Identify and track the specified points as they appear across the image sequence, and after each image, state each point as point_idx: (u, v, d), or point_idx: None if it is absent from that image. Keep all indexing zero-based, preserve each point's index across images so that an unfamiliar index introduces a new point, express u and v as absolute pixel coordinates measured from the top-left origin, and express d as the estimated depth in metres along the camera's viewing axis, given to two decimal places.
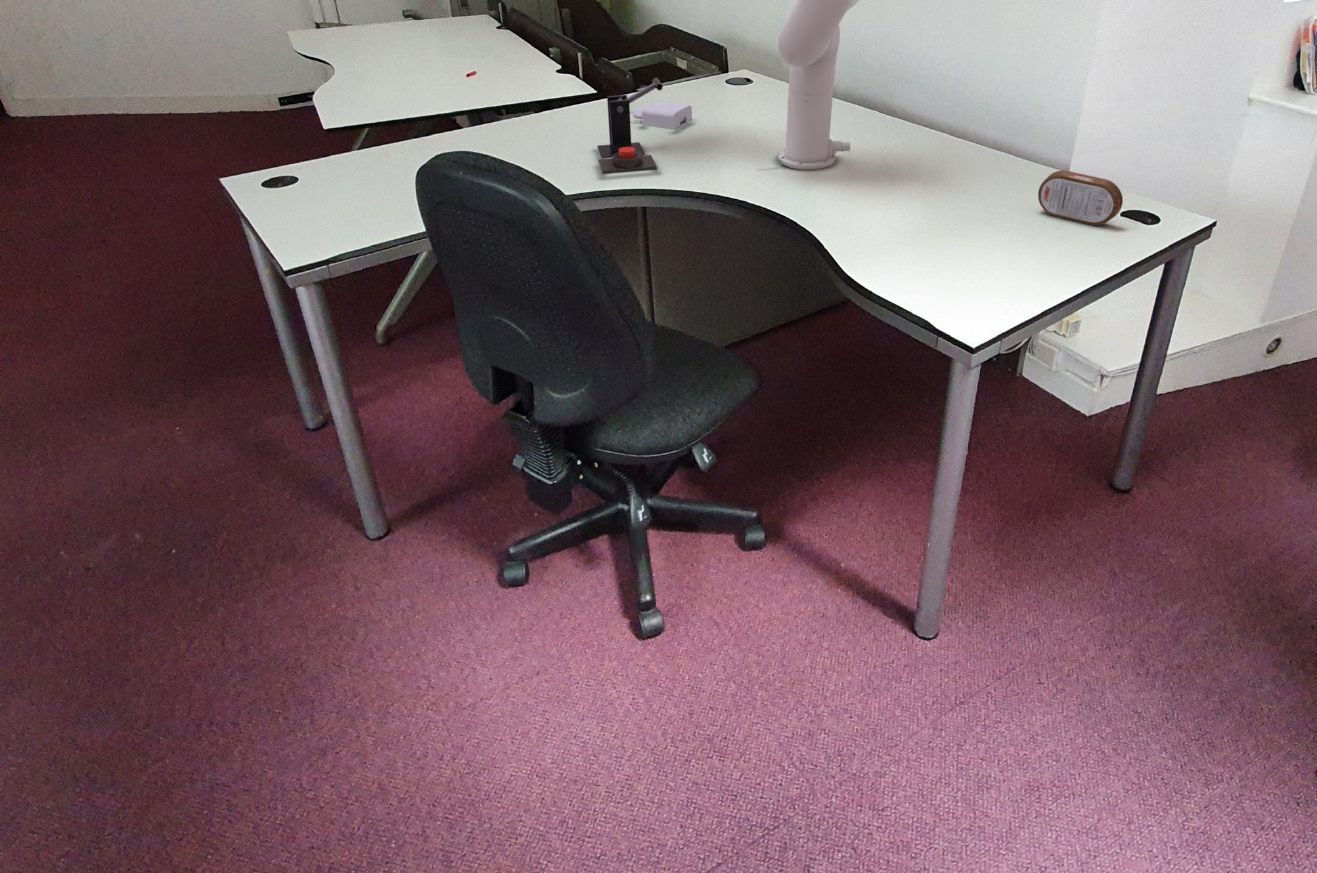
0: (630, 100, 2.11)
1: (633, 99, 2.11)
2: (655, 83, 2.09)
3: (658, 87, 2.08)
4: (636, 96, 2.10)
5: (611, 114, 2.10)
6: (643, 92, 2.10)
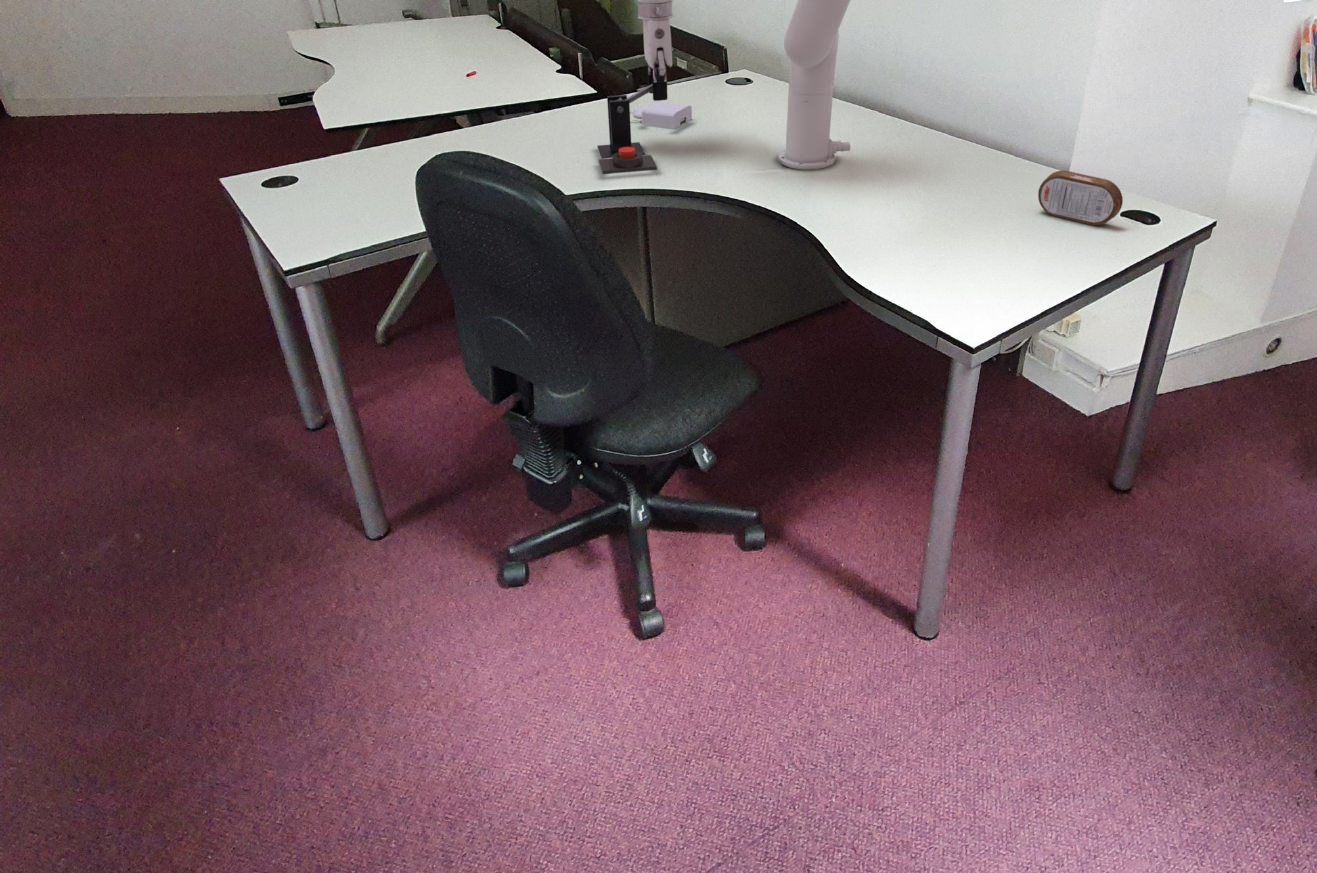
0: (630, 100, 2.11)
1: (633, 99, 2.11)
2: None
3: None
4: (636, 96, 2.10)
5: (611, 114, 2.10)
6: (643, 92, 2.10)
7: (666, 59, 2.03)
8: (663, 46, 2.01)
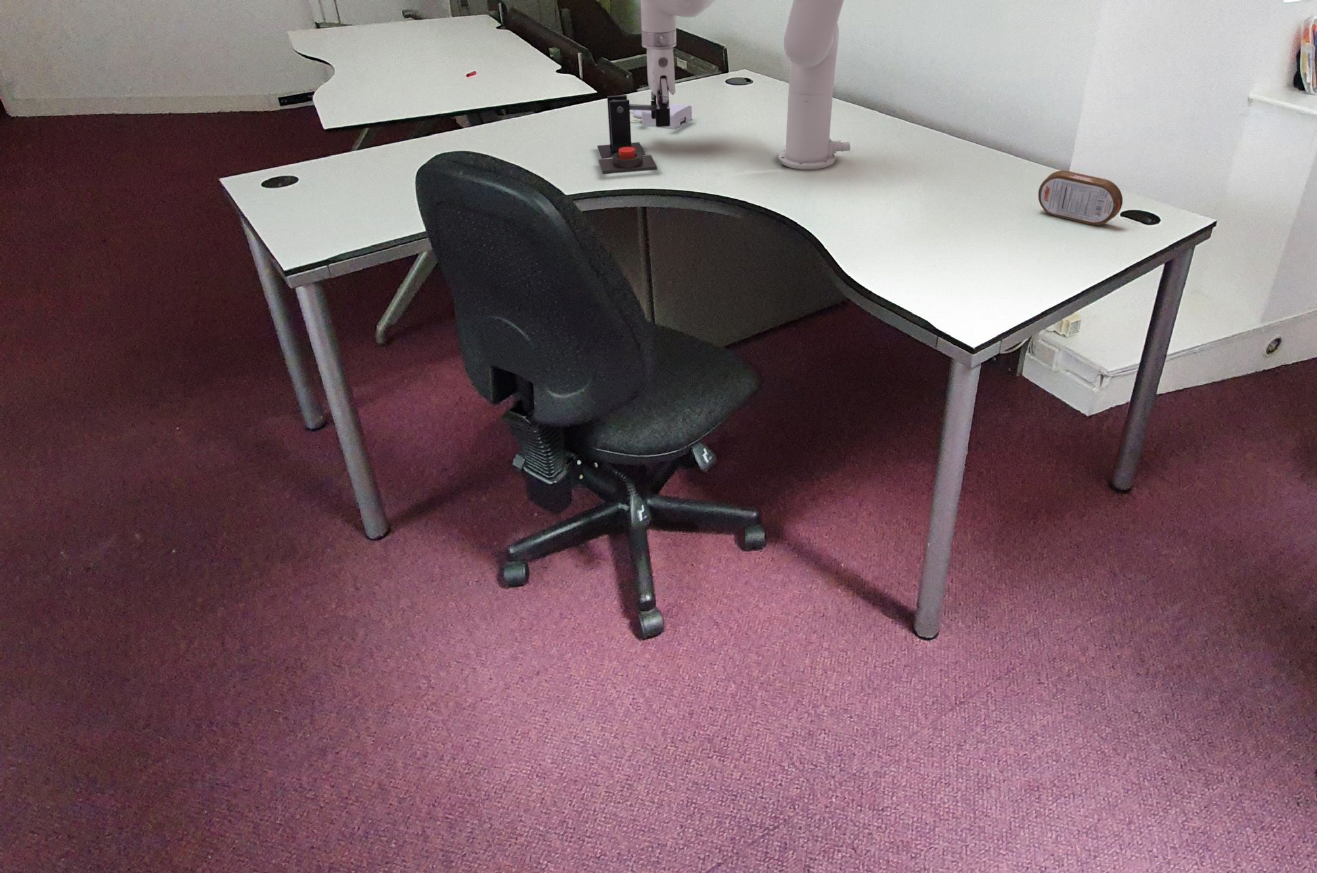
0: (631, 107, 2.12)
1: (634, 108, 2.12)
2: None
3: None
4: (638, 107, 2.12)
5: (611, 114, 2.10)
6: (646, 107, 2.12)
7: (669, 87, 2.06)
8: (666, 74, 2.04)
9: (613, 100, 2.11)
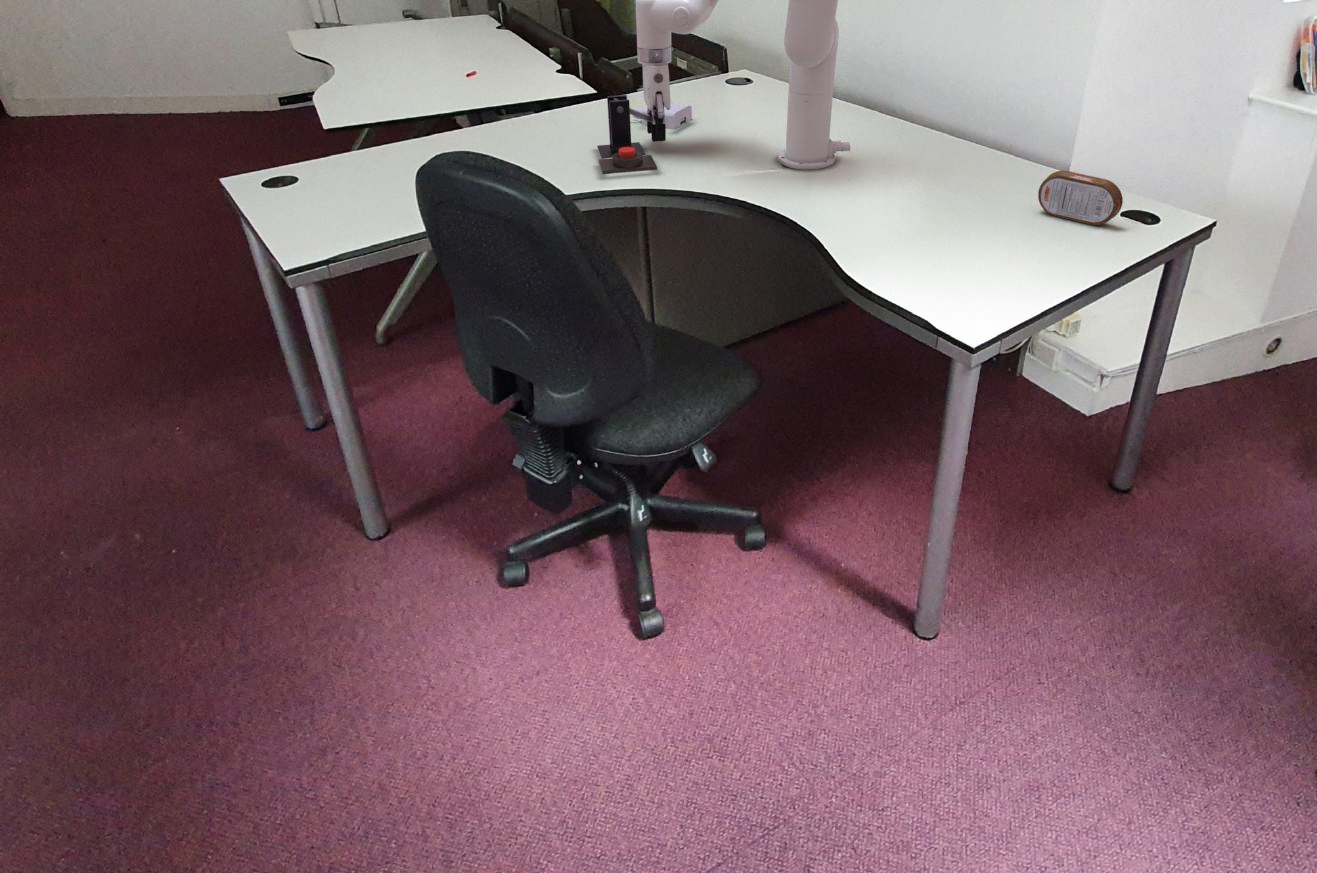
0: (630, 112, 2.12)
1: (633, 113, 2.12)
2: None
3: None
4: (637, 114, 2.13)
5: (611, 114, 2.10)
6: (644, 117, 2.13)
7: (665, 102, 2.08)
8: (662, 90, 2.06)
9: (615, 99, 2.11)
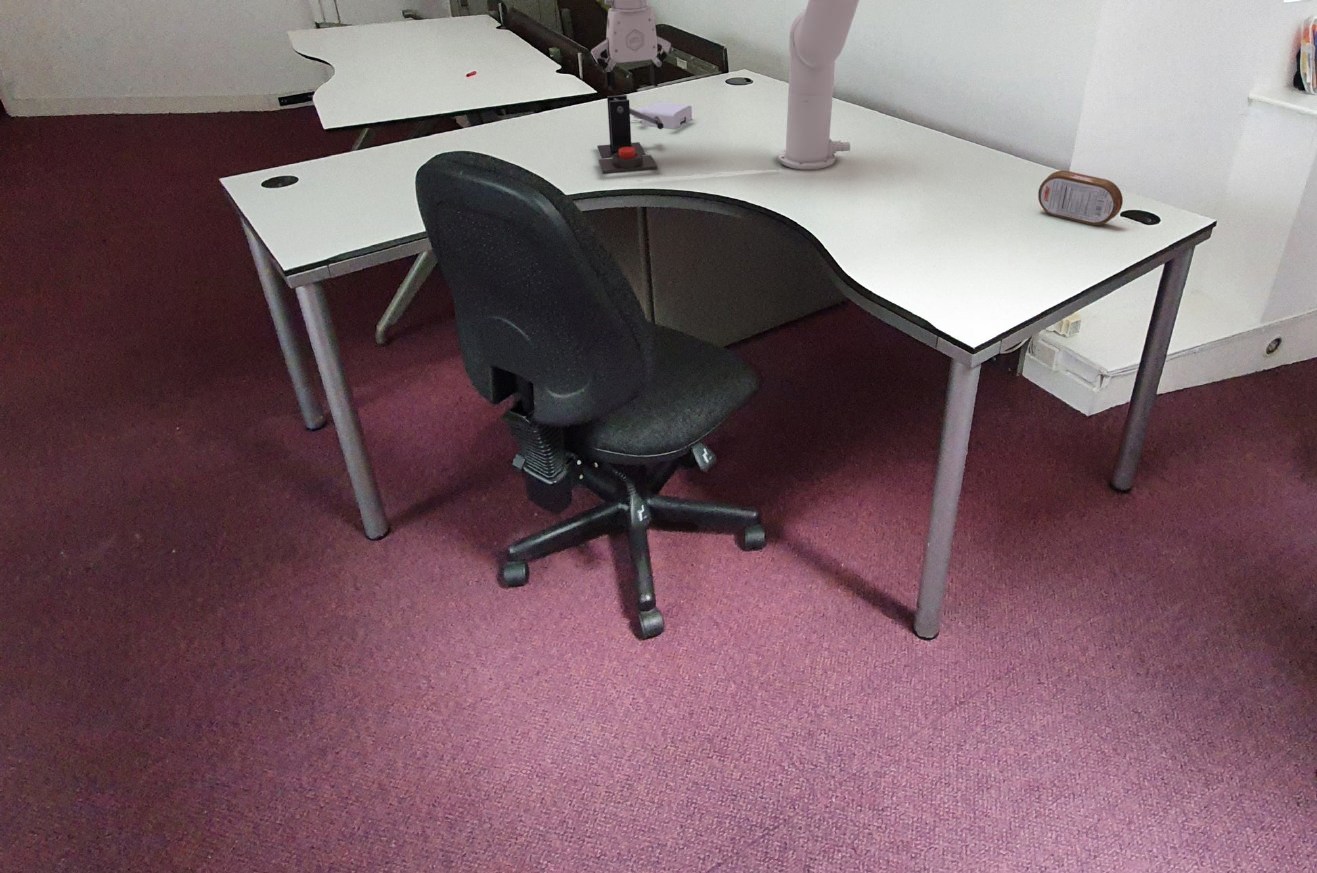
0: (630, 112, 2.12)
1: (633, 113, 2.12)
2: (658, 120, 2.14)
3: (659, 125, 2.13)
4: (637, 114, 2.13)
5: (611, 114, 2.10)
6: (644, 117, 2.13)
7: (609, 46, 1.94)
8: None
9: (615, 99, 2.11)
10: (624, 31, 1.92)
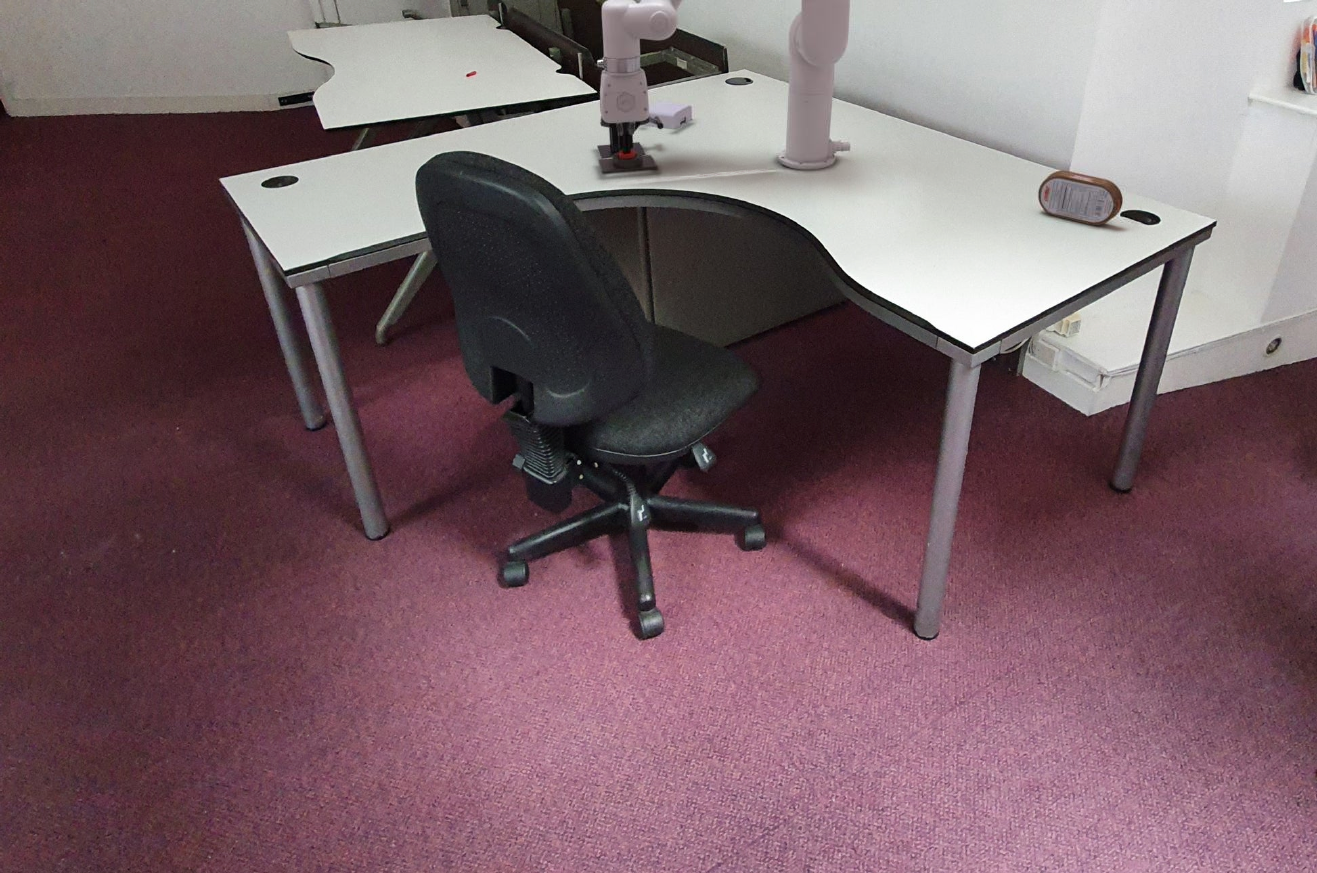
0: None
1: None
2: (658, 120, 2.14)
3: (659, 125, 2.13)
4: None
5: None
6: None
7: None
8: None
9: None
10: (615, 93, 1.96)
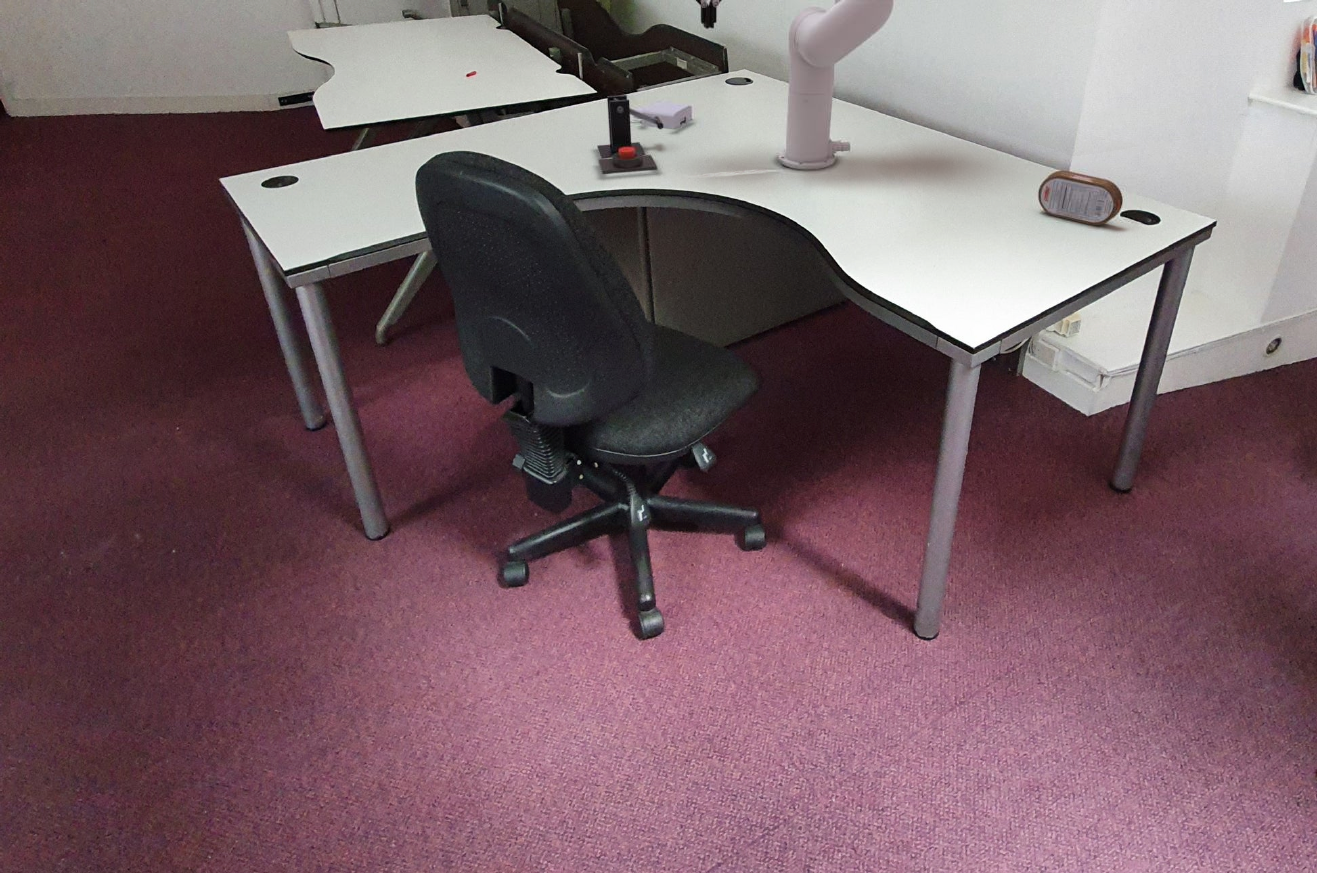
0: (630, 112, 2.12)
1: (633, 113, 2.12)
2: (658, 120, 2.14)
3: (659, 125, 2.13)
4: (637, 114, 2.13)
5: (611, 114, 2.10)
6: (644, 117, 2.13)
7: None
8: None
9: (615, 99, 2.11)
10: None
